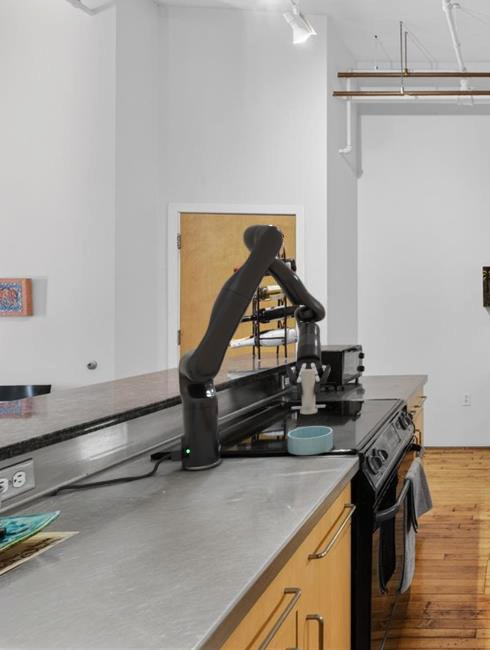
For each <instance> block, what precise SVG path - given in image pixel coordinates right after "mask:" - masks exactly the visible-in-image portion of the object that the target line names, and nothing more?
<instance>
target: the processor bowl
mask: <svg viewBox="0 0 490 650" xmlns="http://www.w3.org/2000/svg"><path fill="white" fill-rule="evenodd" d="M333 431H334V429H333V428H331V427H330V426H329V427H328V426H323V425H311V426H303V427H298V428H295V429H292V430H290V431H289V432H287V435H286V439H287V452H288V453H289V454H292V455H294V456H295V455H296V456H313V455H319V454H323V453H326V452H328V451H330V450H332V449H333V447H334V432H333Z"/></svg>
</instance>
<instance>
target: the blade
mask: <svg viewBox="0 0 490 650" xmlns="http://www.w3.org/2000/svg"><path fill="white" fill-rule="evenodd" d="M301 383H302V396H301V405H297V406H291V410H299V414H302V415H312V414H317V413H318V409H321V408H322V409H323V408H326V404H316V396H315V370H314V369H304V370H301Z"/></svg>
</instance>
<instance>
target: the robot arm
mask: <svg viewBox="0 0 490 650" xmlns="http://www.w3.org/2000/svg"><path fill="white" fill-rule="evenodd" d="M242 240H243V244H244V246H245V248H246V249H247V250H248V252H249V254H248V257H247V259H246V260H245V261H244V262H243V264H242V265H241V266H240V267H239V268H237V269H236V270H235V272H233V274H231V275H230V276H229V278H227V279H226V281H225V282H224V283H223V285H222V286H221V288H220V289H219V291H218V294H217V295H216V298H215V300H214V301H213V305H212V307H211V311H210V315H209V319H208V324H207V328H206V331H205V333H204V335H203V337H202V338H201V340H200V342H199V343H198V345H197V347H196V348H194V349H189V350H188V351H186V352H185V353H183V354H182V356H181V357H180V358H179V361H178V368H177V369H178V370H177V372H178V374H177V375H178V387H179V388H178V389H179V397H180V400H181V407H182V411H181V413H182V432H183V433H182V434H181V435H180V444H177V445H176V446H175V447H174V448H172V450H170V453H169V454H166V455H164V456H162V457H161V458H160V459H158V460H157V461H156V463H155V464H154V466H153V469H152V470H151V471H149V472H148V473H145V474H141V475H137V476H124V477H117V478H113V479H107V480H101V481H95V482H90V483H84V484H67V485H62V486H59V487H58V488H59V489H57V488H56V489H57V491H54V490H53V491H52V492H51V493H50V494H49V497H53V496H56V495H57V494H58V493H60V492H62V491H64V490H82V489H86V488H93V487H98V486H105V485H111V484H115V483H120V482H122V483H123V482H128V481H137V480H142V479H145V478H149V477H151V476H153V475H154V474H156V472H157V471H158V468H159V466H160V465H161V464H162V463H163V462H164V461H166V460H168V459H170V460H171V462H172V463H173V462H181V470H183V471H184V470H187V471H201V470H206V469H210V468H213V467H216V466H218V465H220V463H221V452H220V451H221V447H222V446H221V443H220V425H219V424H220V421H219V396H218V395H219V394H218V393H217V391H216V388H215V383H214V379H215V378H216V376H217V375H218V374H219V372H220V370H221V367H222V365H223V362H224V359H225V357H226V354H227V351H228V349H229V347H230V344H231V342H232V339H233V337H234V336H235V334H236V333H237V330H238V329H239V327H240V325H241V323H242V321H243V319H244V317H245V315H246V314H247V311H248V309H249V308H250V305H251V304H252V302H253V300H254V297H255V294H256V293H257V291H258V289H259V287H260V285H261V283H262V281H263V279H264V277H265V276H266V273H267V272H268V273H269V275H270V276H271V277H272V279H273V280H274V281H275V282H276V284H277V286H278V287H279V288H280V290H281V291H282V293H283V294H284V295H285V297H286V298H287V300H288V302H289V303H290V305H292V306H295V307H297V308H296V309H295V310H294V313H293V314H294V316H293V317H294V320H295V323H296V325H297V329H298V341H297V346H296V347H297V349H296V363H295V365H294V366H289V365H287V366H286V374H287V376H288V379H289V381H290V384H291V386H296V395H297V396H298V397H300V398H302V383H301V370H304V369H314V370H315V397H317V396H318V395H319V394H320V391H321V390H320V389H321V387H320V386H321V385H325V384H326V383H327V380H328V378H329V376H330V373H331V365H330V364H326V365H325V364H323V363H322V343H321V327H320V325H319V324H317V323H319V322H322V321H324V319H325V318H326V315H327V312H326V308H325V307H324V305H323V303H321V302H320V301H319V300H318V299H317V298H316V297H315V296H314V295H313V294H311V292H309V290H308V289H307V288H306V286H305V284H304V282H303V281H302V280H301V278H300V277H299V276H298V274H297V273H296V271H294V270H293V269H291V268H290V267H289V266H288V265H287V264H286V263H285V262H284V261H283V259H282V258H281V257H280V256H279V255H278V254H279V253H280V251H281V249H282V247H283V244H284V234H283V232H282V229H280V228H279V227H278V226H277V225H274V224H252V225H249V226H248V227H246V229H244V231H243V234H242ZM298 306H299V307H298ZM295 371H296V372H297V373H298V377H297V379H296V377H295V375H294V374H295ZM321 371H322V372H323V374H322V376H321V377H320V376H319V373H321Z"/></svg>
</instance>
